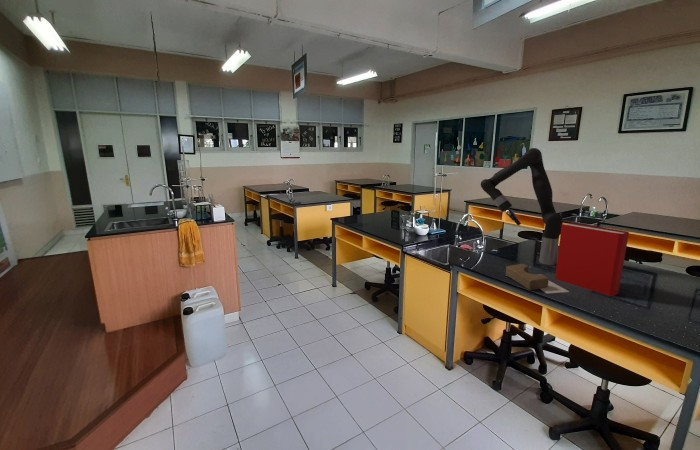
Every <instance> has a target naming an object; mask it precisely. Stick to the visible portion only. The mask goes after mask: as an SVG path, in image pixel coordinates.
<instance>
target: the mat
mask: <svg viewBox="0 0 700 450" xmlns="http://www.w3.org/2000/svg"><path fill="white" fill-rule="evenodd" d="M540 274H541V273H540ZM540 274H539V273H538V274H537V275H540ZM538 290H540V291H542V292H544V293H545V294H547V295H552V294H569V293H570V291H569V290H567V289H566V288H564V287H563V286H560V285H558V284H556V283H554V282H552V281H551V280H548V287H545V288H539V289H538Z"/></svg>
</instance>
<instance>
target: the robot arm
mask: <svg viewBox="0 0 700 450" xmlns="http://www.w3.org/2000/svg"><path fill="white" fill-rule="evenodd" d="M528 167H529V169H530V172H531V182H532V187H533V191H534V194H535V197H536V199H537V202H538V205H539V207H540V213H541V217H542V221H543V223H544V224H545V227H544V231H543V232H542V236H541V245H540V252H539V263H540V264H543V265H546V266H556V265H557V258H558V250H559V242H560V235H561V227H562V224H564V220H563V219H564V218H563V216H562V215H560V214H559V213H558V212H557V211H556V209H555V206H554V202H553V188H552V184H551V183H550V179H549V176H548V173H547V171H546V169H545V165H544V161H543V154H542V151H541V150H540V149H538V148H536V147H532V148H529V149H528V150H526V152H525V153H524V154H523V155H521V157H519V158H518V159H517V160H515V161H514V162H513V163H511V164H509V165H507V166H505V167H503V168H502V169H499V170H498V171H497V172H495V173H494V174H493V176H492V177H490V178H485V179H483V180H481V182H480V187H481V189H482V190H483V192H485V193H486V194H487V195H488V196H489V197H490V198H491V199H492V201H493V202H494V204H495V205H496V207H497V208H498V210H500V212H501V213H504V212H505V213H506V215H507V216H508V217H509V218H510V219H511V220H512V221H513V222H514V223H515V224H516V226H520V225H521V224H522V223H521V221H520V220H519V219H518V216H517V215H516V213H515V212H514V210H513V209H511V208H512V207H513V205H512V202H510V201H509V199H508V198H507V197H506V196H505V195H504V194H503V192H502V191H501V190H500V189H499V188H496V187H497V186H498V185H499V184H501V183H503V182H504V181H505V180H508V179H509V178H511V177H512V176H513V175H515V174H516V173H518V172H519V171H520V172H521V170H524V169H525V168H528Z"/></svg>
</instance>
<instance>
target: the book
mask: <svg viewBox="0 0 700 450" xmlns="http://www.w3.org/2000/svg"><path fill="white" fill-rule="evenodd" d="M629 236H630V232H629V231H628V230H622V229H614V228H609V227H602V226H596V225H589V224H583V223H576V222H569V224H564V223H563V224H562V227H561V234H560V236H559V243H558V249H559V250H558V258H557V264H556V265H555V266H556V267H555V274H554V275H555V276H554V280H557V279H558V280H557V281H559V282H563V283H566V284H569V285H574V286H576V287H580V288H582V289H586V290H590V291H591V292H592V291H593V292H596V293H598V294H603V295H606V296H609V297H610V296H611V297H615V296H616V295H618V294H619V293H620V285H621V282H622V281H621V280H622V275H623V268H624V263H625V257H626V251H627V246H628V241H629Z"/></svg>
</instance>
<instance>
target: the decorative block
mask: <svg viewBox="0 0 700 450" xmlns="http://www.w3.org/2000/svg"><path fill="white" fill-rule="evenodd" d="M505 275H506V276H507V277H509V278H510V279H512V280H513V281H515V282H516V283H518V284H520V285H521V286H522V287H524V288H526V289H527V290H529V291H533V290H540V289H539V288H545V287H548V280H549V277H548V276H546V275H544V274H542V273H540V275H538V274H534V273H529V266H528V265H526V264H524V263H517V264H511V265H506V267H505ZM549 281H550V280H549Z"/></svg>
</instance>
